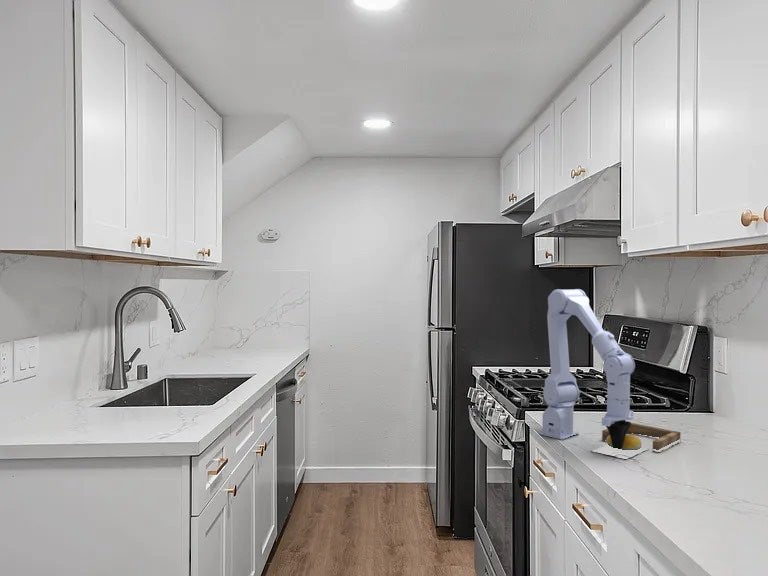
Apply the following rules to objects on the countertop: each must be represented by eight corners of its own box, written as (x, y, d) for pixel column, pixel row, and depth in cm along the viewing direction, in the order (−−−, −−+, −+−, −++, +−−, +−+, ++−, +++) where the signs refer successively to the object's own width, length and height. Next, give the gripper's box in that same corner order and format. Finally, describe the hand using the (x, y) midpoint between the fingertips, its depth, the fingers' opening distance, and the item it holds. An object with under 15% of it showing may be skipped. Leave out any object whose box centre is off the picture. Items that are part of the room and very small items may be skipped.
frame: (658, 453, 167) (658, 442, 167) (602, 440, 178) (602, 430, 178) (680, 442, 177) (680, 432, 177) (625, 431, 189) (625, 421, 189)
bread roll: (632, 453, 165) (632, 439, 165) (602, 446, 172) (602, 432, 172) (647, 448, 170) (648, 433, 170) (617, 440, 177) (618, 427, 177)
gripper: (620, 404, 159) (619, 456, 160) (644, 397, 169) (643, 445, 169) (594, 400, 164) (594, 450, 165) (619, 393, 174) (618, 440, 175)
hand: (617, 447), depth 167 cm, fingers closed
